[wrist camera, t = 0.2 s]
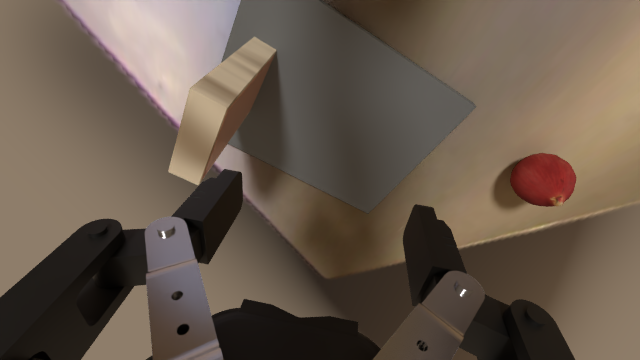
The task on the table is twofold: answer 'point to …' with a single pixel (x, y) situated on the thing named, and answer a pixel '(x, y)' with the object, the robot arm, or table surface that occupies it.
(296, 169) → the mat
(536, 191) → the onion
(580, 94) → the table surface
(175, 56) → the table surface
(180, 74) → the table surface
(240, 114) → the wooden block
